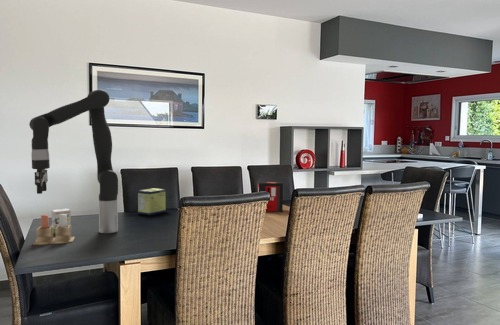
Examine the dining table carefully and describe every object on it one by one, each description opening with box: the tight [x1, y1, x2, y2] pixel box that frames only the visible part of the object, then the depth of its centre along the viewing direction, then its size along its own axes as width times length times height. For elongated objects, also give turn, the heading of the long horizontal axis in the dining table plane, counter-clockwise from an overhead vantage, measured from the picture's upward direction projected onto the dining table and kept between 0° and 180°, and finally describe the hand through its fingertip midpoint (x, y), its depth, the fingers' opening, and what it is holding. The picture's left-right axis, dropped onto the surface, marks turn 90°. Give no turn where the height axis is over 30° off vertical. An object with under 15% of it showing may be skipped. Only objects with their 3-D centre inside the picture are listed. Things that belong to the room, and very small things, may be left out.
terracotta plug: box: [40, 214, 50, 229], centre depth 189 cm, size 3×3×8 cm
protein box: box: [137, 187, 167, 216], centre depth 262 cm, size 10×16×16 cm
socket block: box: [32, 224, 76, 246], centre depth 190 cm, size 17×9×7 cm, turn 107°
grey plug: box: [59, 214, 67, 228], centre depth 191 cm, size 3×3×8 cm
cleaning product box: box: [257, 181, 284, 213], centre depth 272 cm, size 16×9×20 cm, turn 94°
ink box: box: [51, 208, 72, 234], centre depth 209 cm, size 8×5×12 cm, turn 131°
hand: (41, 192), depth 189 cm, fingers open, 8 cm apart
